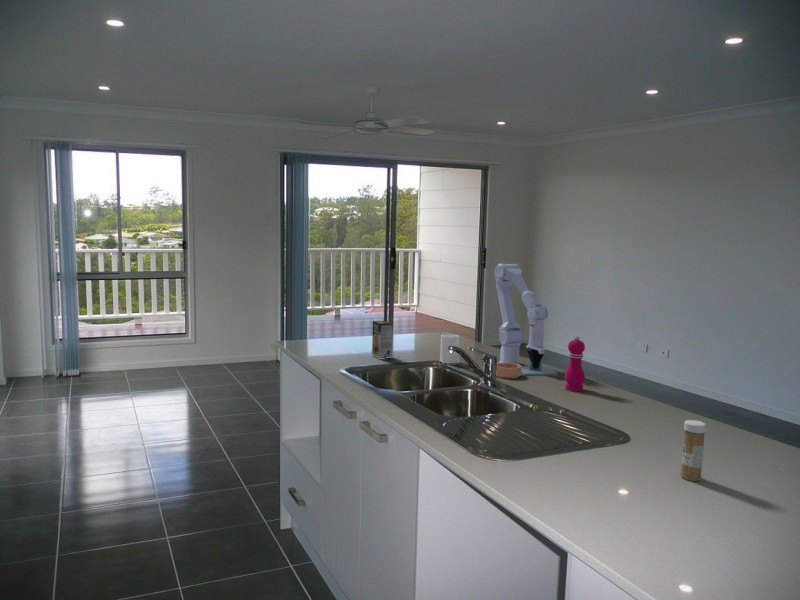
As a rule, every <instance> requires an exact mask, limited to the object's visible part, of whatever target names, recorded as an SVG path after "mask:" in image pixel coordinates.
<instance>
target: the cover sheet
mask: <svg viewBox="0 0 800 600" xmlns="http://www.w3.org/2000/svg"><path fill="white" fill-rule="evenodd" d="M521 366H522V375H524V376H523V377H529V376H528V375H559V373H558V372H556V371H554V370H553V369H551V368H549V367H548V366H546V365H542V362H541V361H540V365H539V368H538V369H533V366H532V362H529V361H528V365H521Z"/></svg>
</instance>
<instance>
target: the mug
mask: <svg viewBox="0 0 800 600" xmlns="http://www.w3.org/2000/svg"><path fill="white" fill-rule="evenodd" d="M448 346H457V347H459V348H461V344H460V335H459V334H452V333H443V334H441V335H440V351H439V352H440V354H439V355H440V356H439V362H440V361H441V362H444V363H458V364H460V360H459V359H460V357H459V356H460V355H459V354H458V353H456V352H452V353H450V352H449V351H448V348H447V347H448Z"/></svg>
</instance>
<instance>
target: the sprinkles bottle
mask: <svg viewBox="0 0 800 600" xmlns="http://www.w3.org/2000/svg"><path fill="white" fill-rule="evenodd" d="M683 429H684V437H683V446H682V458H681V468H680V469H681V470H680V471H681V472H680V477H681V478H682V479H684V480H687V481H692V482H698V481H701V480H702V471H703V470H702V467H703V462H704V461H703V460H704V450H705V434H706V430H707V424H706V423H705V422H704V421H700V420H695V419H687V420H685V421H684V425H683Z"/></svg>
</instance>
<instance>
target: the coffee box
mask: <svg viewBox="0 0 800 600" xmlns="http://www.w3.org/2000/svg"><path fill="white" fill-rule="evenodd" d="M393 330H394V323H392V322H390V321H387V320H372V339H371V340H372V343H371V348H372V349H371V353H372V354H371V356H372V355H374V356H377V357H378V358H386V357H392V358H393V338H394V336H393V335H394V334H393V333H394V331H393ZM374 356H373V357H374Z"/></svg>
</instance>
